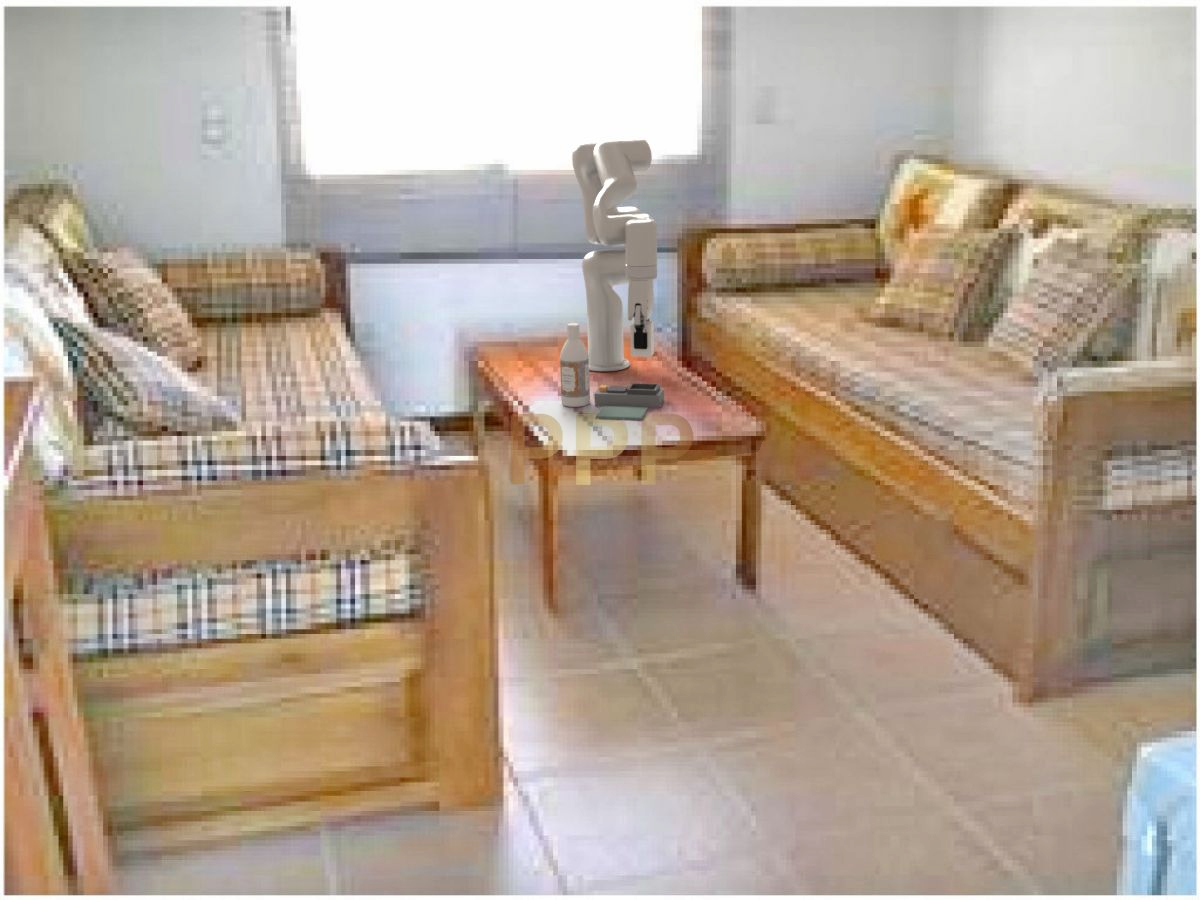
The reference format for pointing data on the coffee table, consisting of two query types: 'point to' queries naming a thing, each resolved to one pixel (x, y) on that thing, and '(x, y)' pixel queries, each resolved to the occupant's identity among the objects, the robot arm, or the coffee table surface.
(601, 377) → the coffee table surface
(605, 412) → the mat
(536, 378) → the coffee table surface
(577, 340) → the bath foam
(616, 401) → the power strip
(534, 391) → the coffee table surface
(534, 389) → the coffee table surface
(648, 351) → the block
